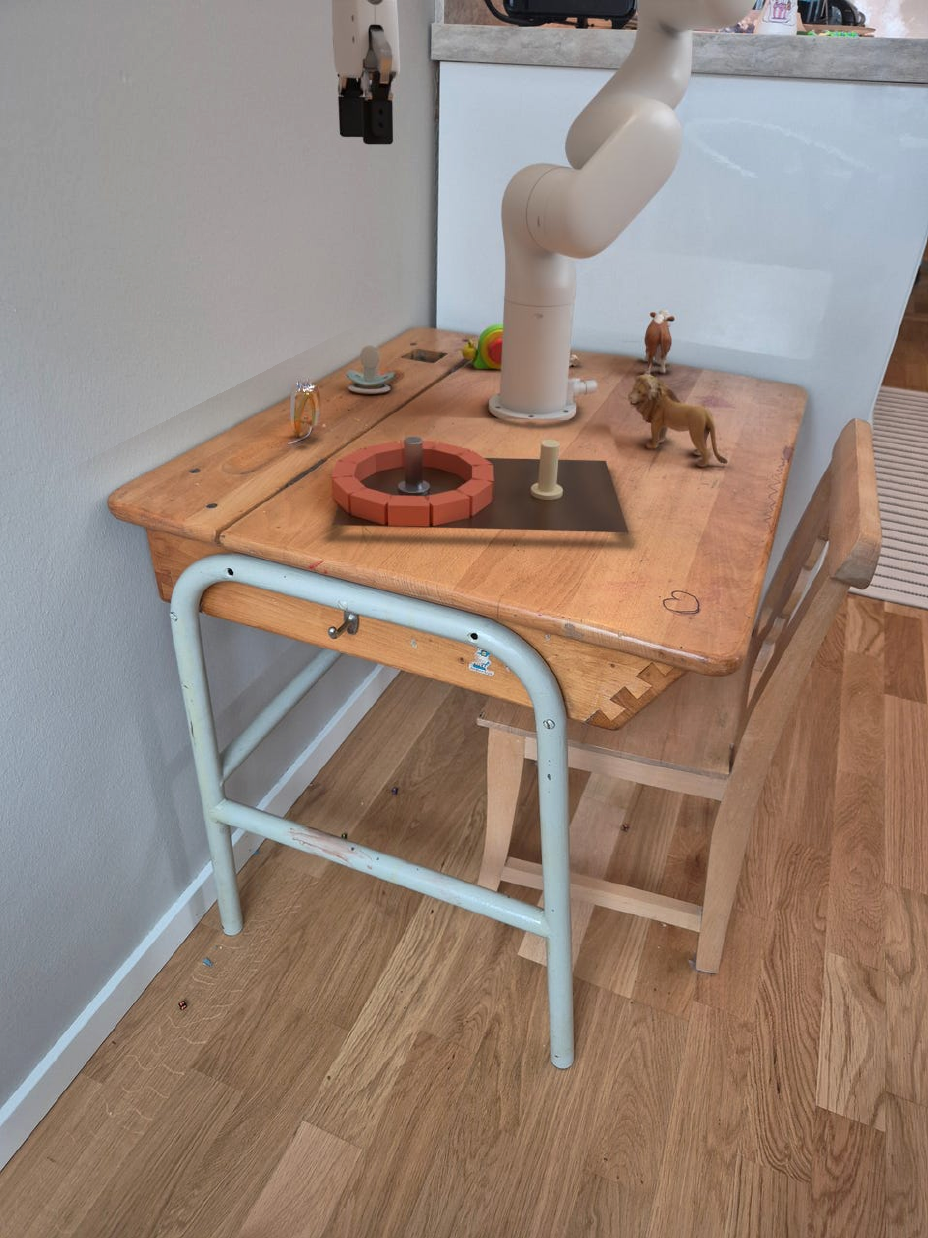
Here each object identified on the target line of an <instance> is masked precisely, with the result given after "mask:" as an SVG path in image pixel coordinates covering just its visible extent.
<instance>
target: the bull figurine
mask: <svg viewBox="0 0 928 1238" xmlns="http://www.w3.org/2000/svg"><path fill="white" fill-rule="evenodd" d="M649 316H650V318H652V320H651V321H650V323H649V324H648V326H647V328H646V331H645V334H644V335H645V336H644V345H645V355H644V358H643V360H642V362H643V363H647V367H646V370H645V372H644V374H649V375H651V368H652V366H653V364H654V363H653V362H654V360H655V362H656V365H658V366H660V368H659V371H658V372H659V373H661V374H665V373H666V367H665V366H666V363H667V356H668V353H669V352H670V350H671V347H672V344H673V343H672V342H673V341H672V335H671V332H670V327H671V326H672V325H671V324H672V322H674V321H675V317H674V316H672V315H671V314H670V313H669V311H668V310H667V309H661V310H660V311H659V312H658V313H657V312H655V311H651V312H650V313H649Z"/></svg>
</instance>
